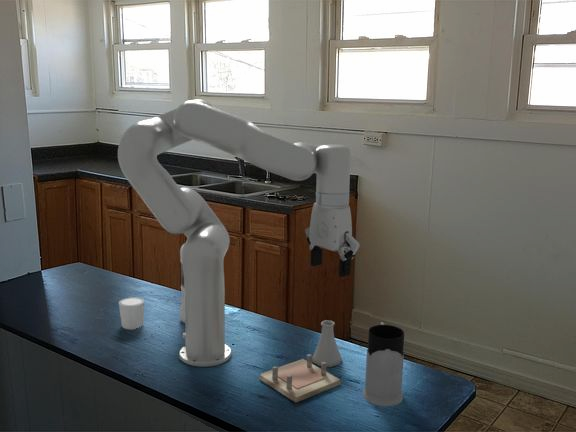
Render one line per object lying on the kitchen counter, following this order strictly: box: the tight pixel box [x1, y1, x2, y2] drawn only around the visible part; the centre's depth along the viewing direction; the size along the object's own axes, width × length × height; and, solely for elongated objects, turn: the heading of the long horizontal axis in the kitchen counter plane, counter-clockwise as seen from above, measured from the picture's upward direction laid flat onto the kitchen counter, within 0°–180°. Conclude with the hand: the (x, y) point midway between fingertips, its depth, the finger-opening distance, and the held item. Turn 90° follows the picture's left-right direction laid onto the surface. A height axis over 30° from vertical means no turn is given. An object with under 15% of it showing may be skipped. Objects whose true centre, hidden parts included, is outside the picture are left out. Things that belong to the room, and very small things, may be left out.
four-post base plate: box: [258, 353, 341, 403], centre depth 138 cm, size 13×13×4 cm
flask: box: [312, 319, 343, 368], centre depth 148 cm, size 7×7×10 cm
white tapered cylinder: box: [118, 296, 146, 330], centre depth 167 cm, size 7×7×7 cm
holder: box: [362, 322, 405, 407], centre depth 134 cm, size 9×14×15 cm, turn 177°
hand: (330, 270), depth 144 cm, fingers open, 9 cm apart
